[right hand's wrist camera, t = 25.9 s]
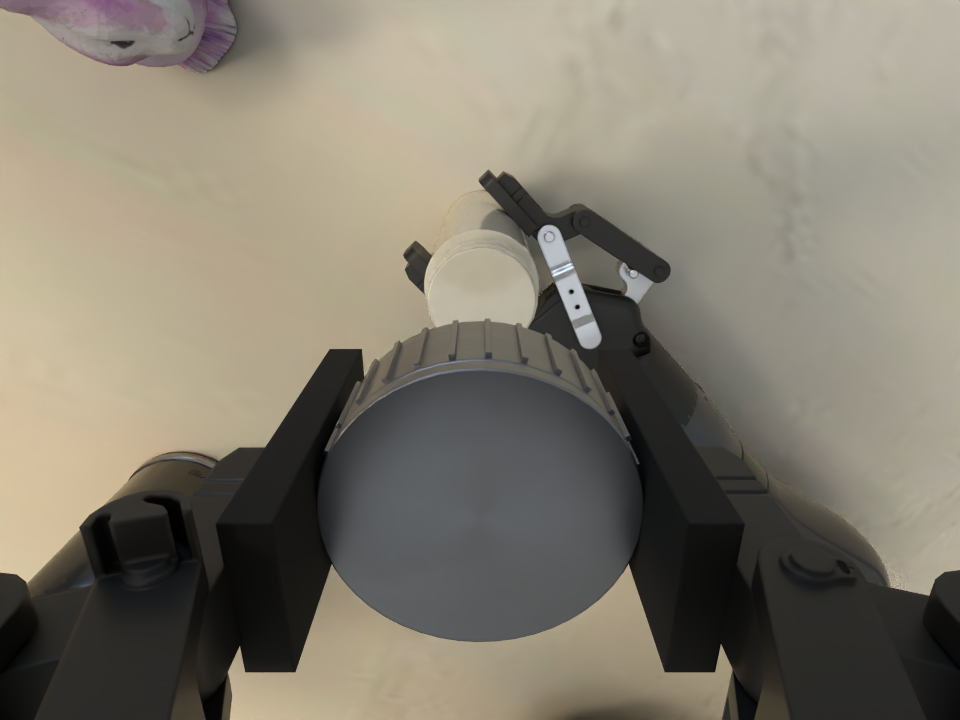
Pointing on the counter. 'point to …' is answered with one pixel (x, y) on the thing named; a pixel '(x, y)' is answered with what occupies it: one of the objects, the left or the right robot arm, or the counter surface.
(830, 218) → the counter surface
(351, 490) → the lid
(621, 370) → the right robot arm
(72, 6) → the figurine
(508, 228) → the jar
